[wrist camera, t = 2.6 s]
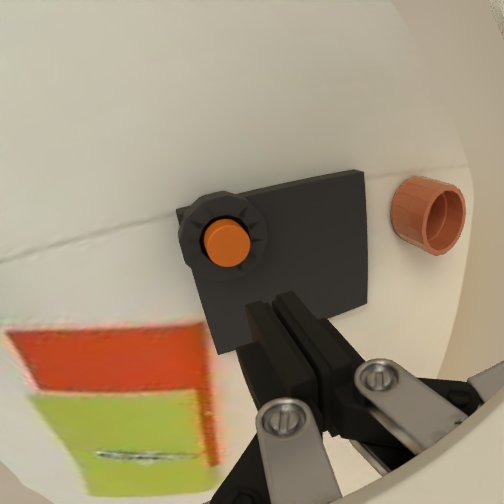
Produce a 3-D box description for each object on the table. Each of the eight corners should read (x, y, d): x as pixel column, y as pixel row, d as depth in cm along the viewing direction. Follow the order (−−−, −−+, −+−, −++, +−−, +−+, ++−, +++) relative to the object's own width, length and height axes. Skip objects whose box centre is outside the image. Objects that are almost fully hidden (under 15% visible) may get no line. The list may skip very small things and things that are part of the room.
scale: (169, 199, 20) (170, 209, 17) (353, 160, 23) (375, 164, 20) (212, 345, 25) (218, 368, 23) (359, 296, 28) (377, 312, 25)
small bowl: (402, 164, 24) (438, 173, 20) (439, 189, 26) (472, 200, 22) (378, 228, 26) (412, 246, 22) (418, 245, 28) (449, 261, 24)
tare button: (199, 224, 19) (202, 232, 17) (240, 214, 19) (246, 220, 18) (208, 262, 20) (212, 272, 18) (247, 252, 20) (254, 260, 19)
